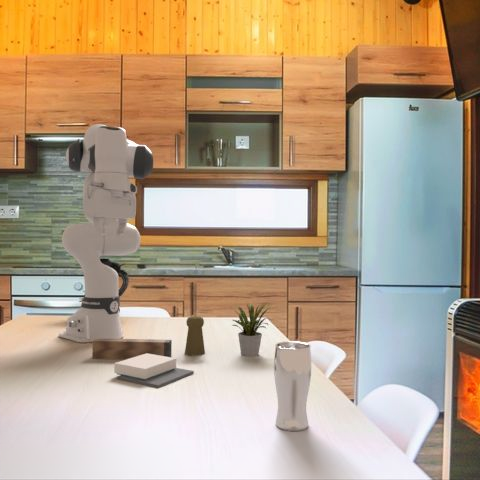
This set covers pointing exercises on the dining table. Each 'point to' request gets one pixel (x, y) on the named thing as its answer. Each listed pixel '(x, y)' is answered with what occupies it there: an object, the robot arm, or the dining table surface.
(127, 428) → the dining table surface
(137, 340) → the wooden handle bar
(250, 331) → the house plant
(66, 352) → the dining table surface
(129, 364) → the tile
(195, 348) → the olive tapered upright piece
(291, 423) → the beer glass
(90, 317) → the robot arm
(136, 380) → the mat
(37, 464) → the dining table surface
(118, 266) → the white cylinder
